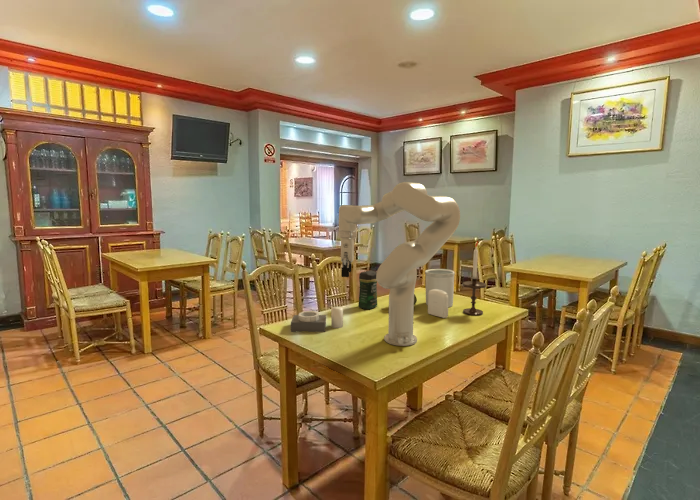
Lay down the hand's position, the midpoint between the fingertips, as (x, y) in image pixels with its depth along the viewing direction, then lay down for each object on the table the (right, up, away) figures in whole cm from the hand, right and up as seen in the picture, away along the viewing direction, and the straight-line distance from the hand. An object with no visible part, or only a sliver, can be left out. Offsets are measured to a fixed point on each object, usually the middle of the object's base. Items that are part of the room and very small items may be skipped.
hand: (346, 274), depth 167 cm
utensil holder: (+48, -18, +36) cm, 62 cm away
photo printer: (+43, -21, +17) cm, 50 cm away
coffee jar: (+11, -19, +30) cm, 37 cm away
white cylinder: (-4, -22, +2) cm, 23 cm away
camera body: (-16, -23, -1) cm, 28 cm away
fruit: (+29, -19, +30) cm, 45 cm away
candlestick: (+61, -20, +21) cm, 67 cm away
